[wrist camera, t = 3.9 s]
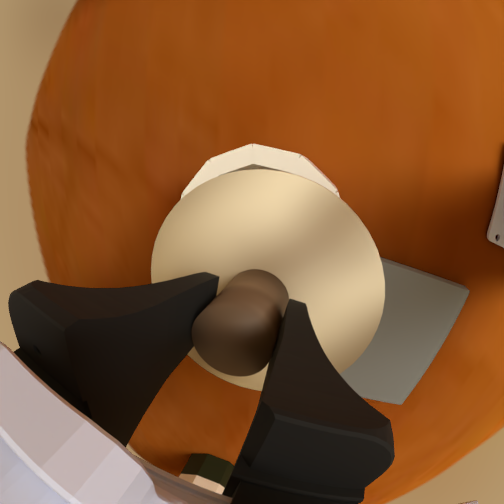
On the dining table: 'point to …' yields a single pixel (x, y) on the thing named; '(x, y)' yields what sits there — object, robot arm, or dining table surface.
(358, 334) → the lid
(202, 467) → the wine bottle
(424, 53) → the dining table surface
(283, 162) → the bowl
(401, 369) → the mat
